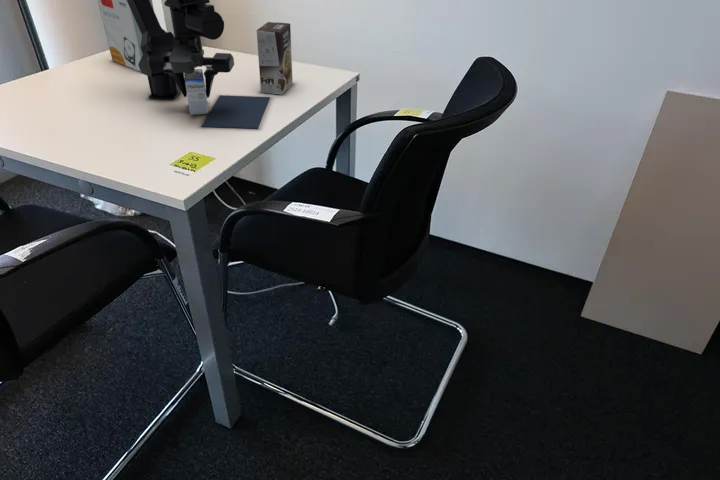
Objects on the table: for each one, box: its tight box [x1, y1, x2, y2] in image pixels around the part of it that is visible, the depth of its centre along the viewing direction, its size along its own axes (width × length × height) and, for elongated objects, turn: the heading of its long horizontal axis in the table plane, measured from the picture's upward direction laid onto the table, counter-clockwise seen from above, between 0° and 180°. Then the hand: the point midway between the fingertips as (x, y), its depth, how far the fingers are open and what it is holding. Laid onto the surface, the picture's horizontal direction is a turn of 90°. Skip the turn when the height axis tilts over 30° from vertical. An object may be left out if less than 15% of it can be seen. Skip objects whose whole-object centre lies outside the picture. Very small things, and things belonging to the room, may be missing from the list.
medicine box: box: [184, 68, 209, 116], centre depth 129 cm, size 8×4×9 cm, turn 17°
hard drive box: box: [97, 0, 155, 73], centre depth 152 cm, size 16×8×20 cm, turn 53°
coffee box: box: [256, 21, 293, 96], centre depth 141 cm, size 9×6×16 cm
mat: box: [200, 95, 271, 130], centre depth 132 cm, size 13×19×1 cm
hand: (196, 96), depth 130 cm, fingers closed on medicine box, 5 cm apart
